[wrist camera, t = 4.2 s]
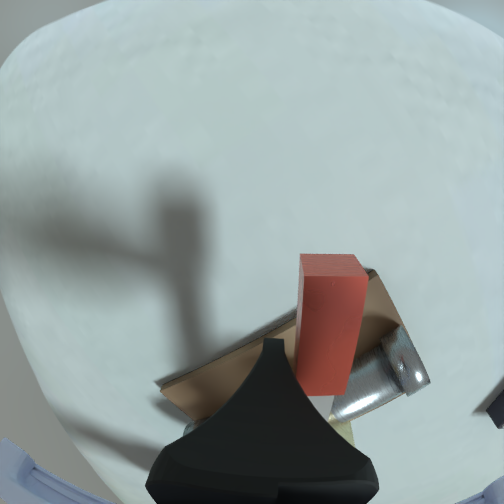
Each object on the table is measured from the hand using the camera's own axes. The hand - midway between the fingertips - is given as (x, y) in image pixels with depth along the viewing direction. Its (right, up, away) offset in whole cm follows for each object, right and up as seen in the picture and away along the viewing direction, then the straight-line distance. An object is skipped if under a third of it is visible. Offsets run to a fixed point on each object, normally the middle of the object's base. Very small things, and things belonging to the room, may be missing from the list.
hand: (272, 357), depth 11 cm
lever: (+2, -3, +1) cm, 3 cm away
